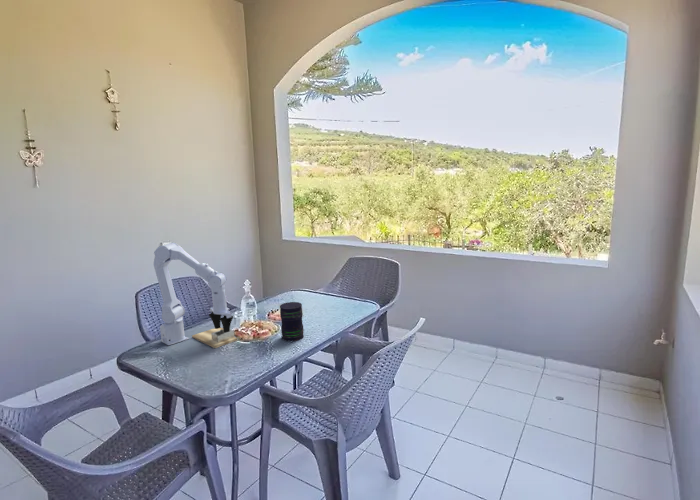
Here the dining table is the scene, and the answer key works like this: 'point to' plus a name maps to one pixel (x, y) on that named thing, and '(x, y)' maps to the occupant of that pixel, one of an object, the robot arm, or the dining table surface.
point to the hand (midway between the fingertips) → (222, 330)
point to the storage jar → (291, 321)
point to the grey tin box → (222, 336)
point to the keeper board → (207, 338)
